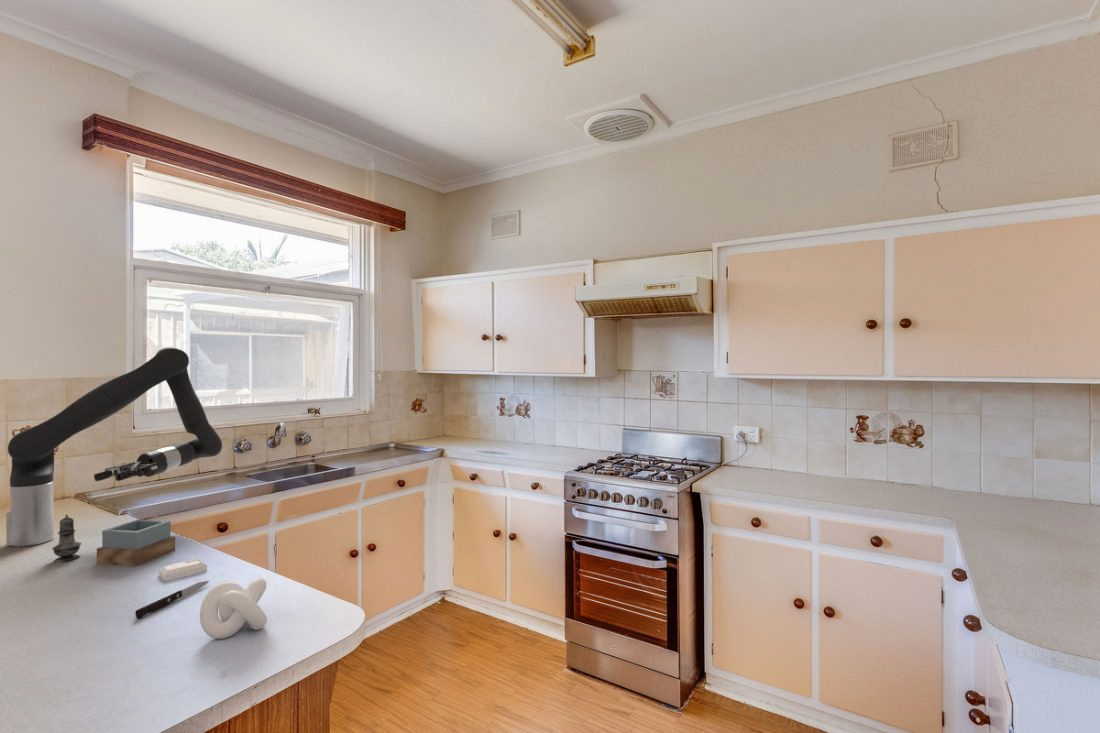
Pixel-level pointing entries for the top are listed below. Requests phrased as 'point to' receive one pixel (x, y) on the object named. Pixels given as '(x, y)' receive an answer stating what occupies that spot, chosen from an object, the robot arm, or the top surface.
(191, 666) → the top surface
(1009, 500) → the top surface
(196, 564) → the soap bar
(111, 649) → the top surface
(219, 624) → the white knot sculpture
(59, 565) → the top surface
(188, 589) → the kitchen knife
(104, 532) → the blue-grey square tray
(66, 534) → the salt shaker
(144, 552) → the tower base
